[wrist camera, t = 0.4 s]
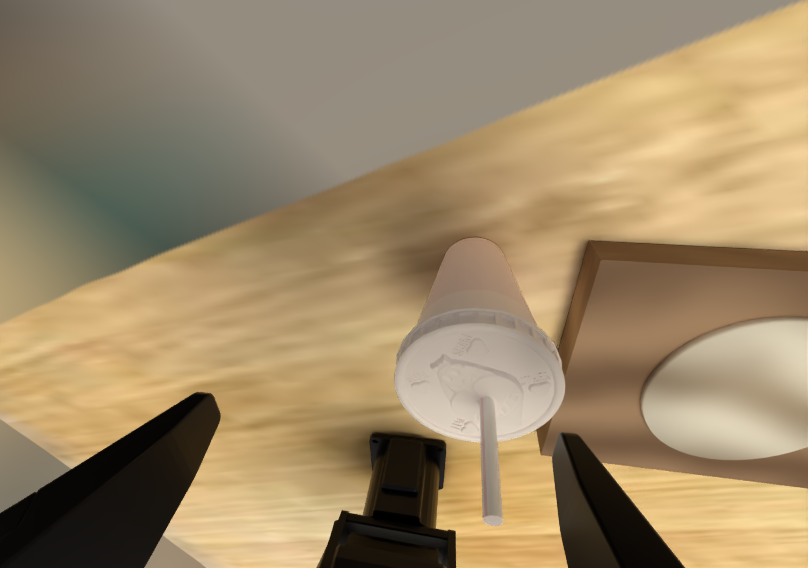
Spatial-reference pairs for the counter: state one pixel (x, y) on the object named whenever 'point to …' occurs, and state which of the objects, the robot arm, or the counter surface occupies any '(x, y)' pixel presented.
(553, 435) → the walnut base
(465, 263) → the smoothie
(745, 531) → the counter surface
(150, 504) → the robot arm
